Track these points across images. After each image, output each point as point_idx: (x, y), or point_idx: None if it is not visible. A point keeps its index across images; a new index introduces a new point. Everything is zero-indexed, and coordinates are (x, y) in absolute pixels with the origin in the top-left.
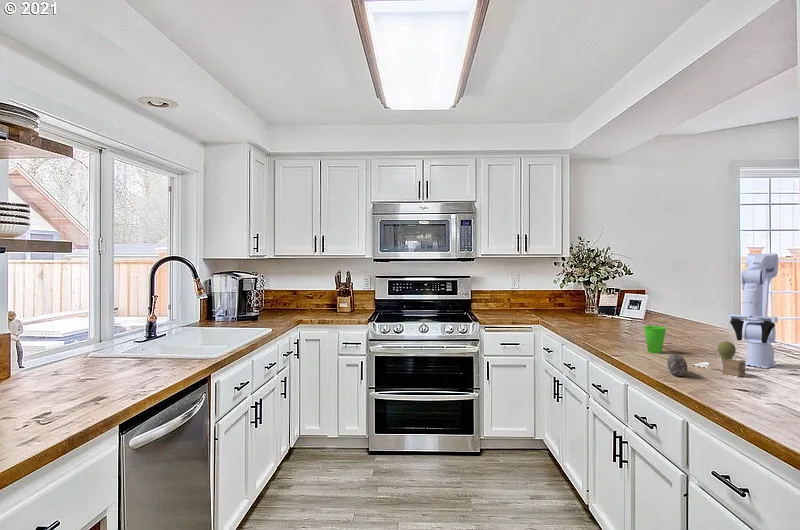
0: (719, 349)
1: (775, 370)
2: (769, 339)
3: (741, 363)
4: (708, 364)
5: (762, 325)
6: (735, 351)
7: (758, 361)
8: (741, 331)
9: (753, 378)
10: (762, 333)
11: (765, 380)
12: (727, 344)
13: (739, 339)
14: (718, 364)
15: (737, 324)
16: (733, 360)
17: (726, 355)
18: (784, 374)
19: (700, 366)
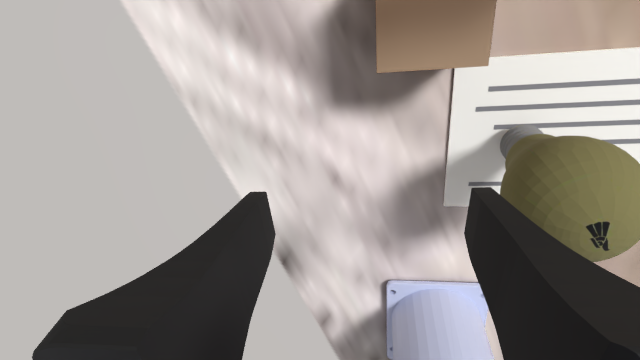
0: (617, 147)
1: (352, 280)
2: None
3: (376, 8)
4: (633, 156)
5: (149, 307)
6: None
7: (423, 306)
8: (497, 310)
9: (315, 17)
10: (219, 241)
11: (260, 28)
12: (575, 190)
13: (473, 199)
14: None
15: (567, 317)
16: (445, 32)
17: (539, 141)
18: (295, 236)
19: None
